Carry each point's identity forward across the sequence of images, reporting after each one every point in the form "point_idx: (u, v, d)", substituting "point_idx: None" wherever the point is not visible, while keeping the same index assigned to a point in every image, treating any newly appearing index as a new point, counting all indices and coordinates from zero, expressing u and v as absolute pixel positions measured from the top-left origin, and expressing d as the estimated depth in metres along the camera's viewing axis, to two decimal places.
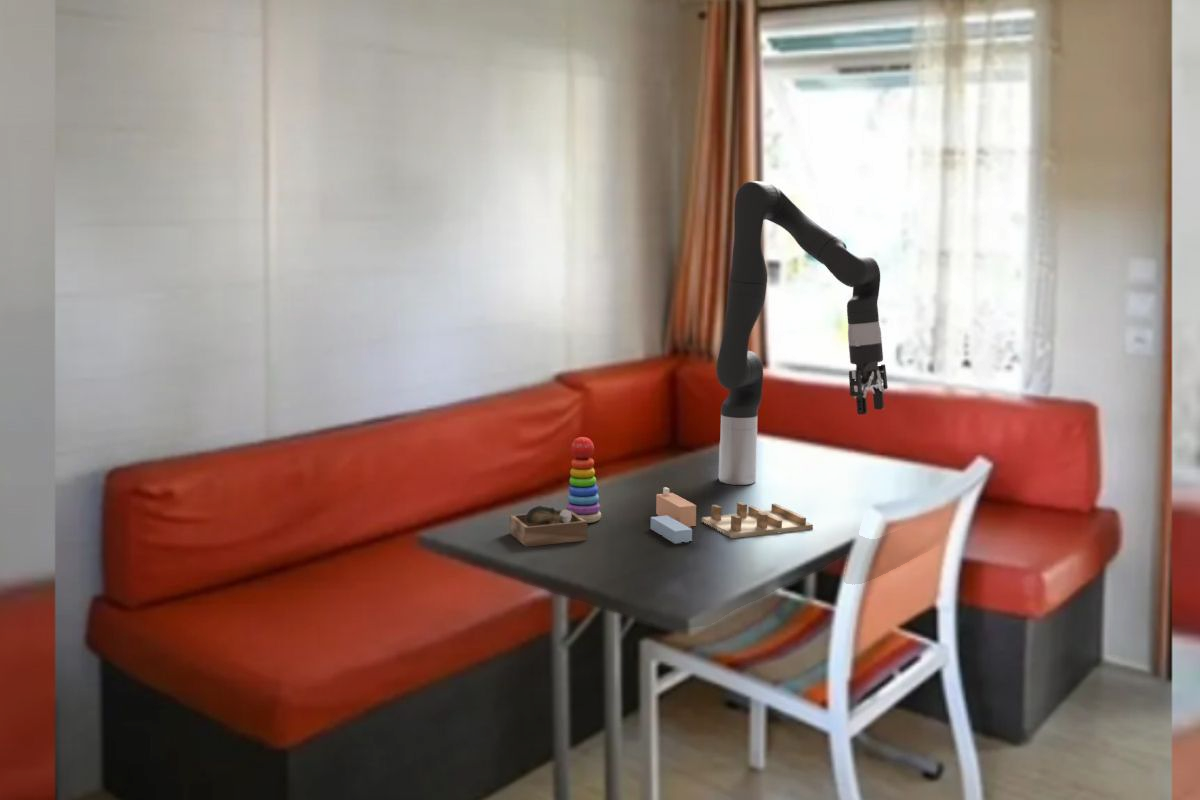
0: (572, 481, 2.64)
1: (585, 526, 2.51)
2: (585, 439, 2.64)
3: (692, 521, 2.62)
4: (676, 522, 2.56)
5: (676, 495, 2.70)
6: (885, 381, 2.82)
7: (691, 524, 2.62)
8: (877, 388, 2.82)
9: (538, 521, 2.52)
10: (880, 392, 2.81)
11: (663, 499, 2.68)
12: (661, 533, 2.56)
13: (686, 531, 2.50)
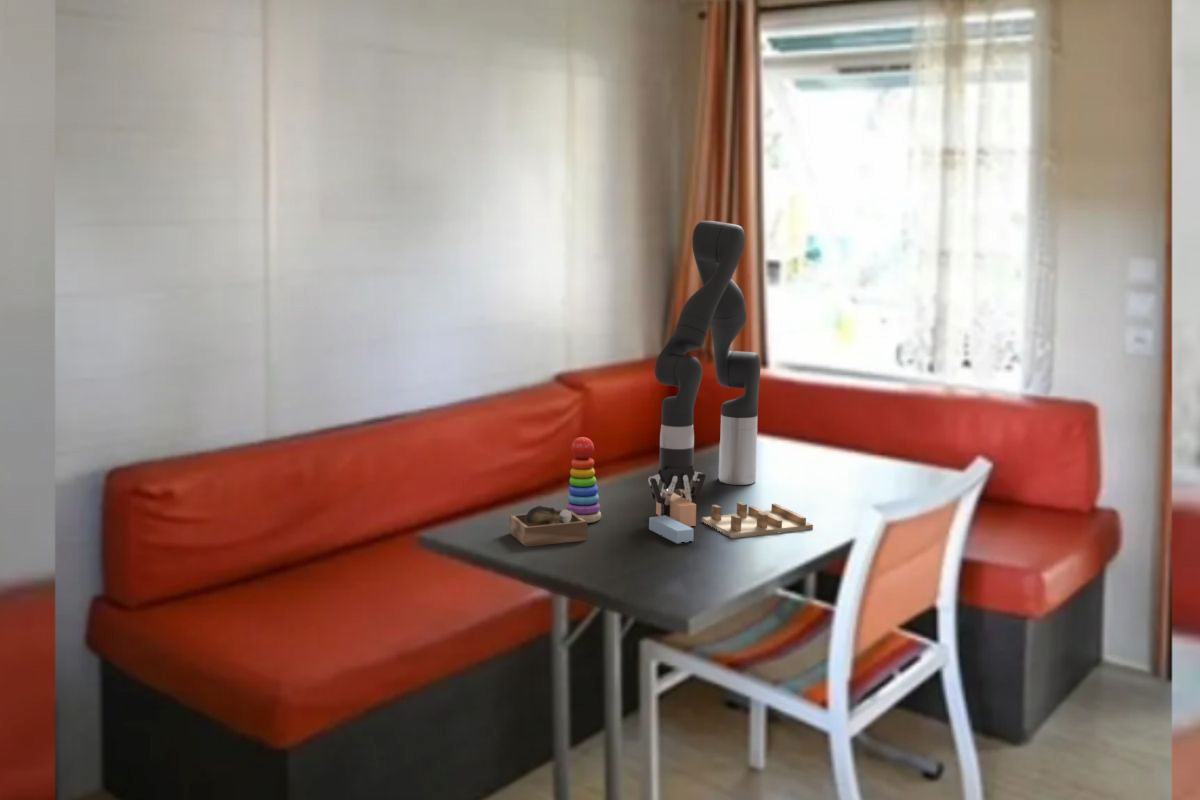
0: (572, 481, 2.64)
1: (585, 526, 2.51)
2: (585, 439, 2.64)
3: (692, 520, 2.62)
4: (676, 522, 2.56)
5: (676, 494, 2.70)
6: (697, 491, 2.67)
7: (691, 523, 2.62)
8: None
9: (538, 521, 2.52)
10: None
11: None
12: (661, 533, 2.55)
13: (687, 531, 2.51)
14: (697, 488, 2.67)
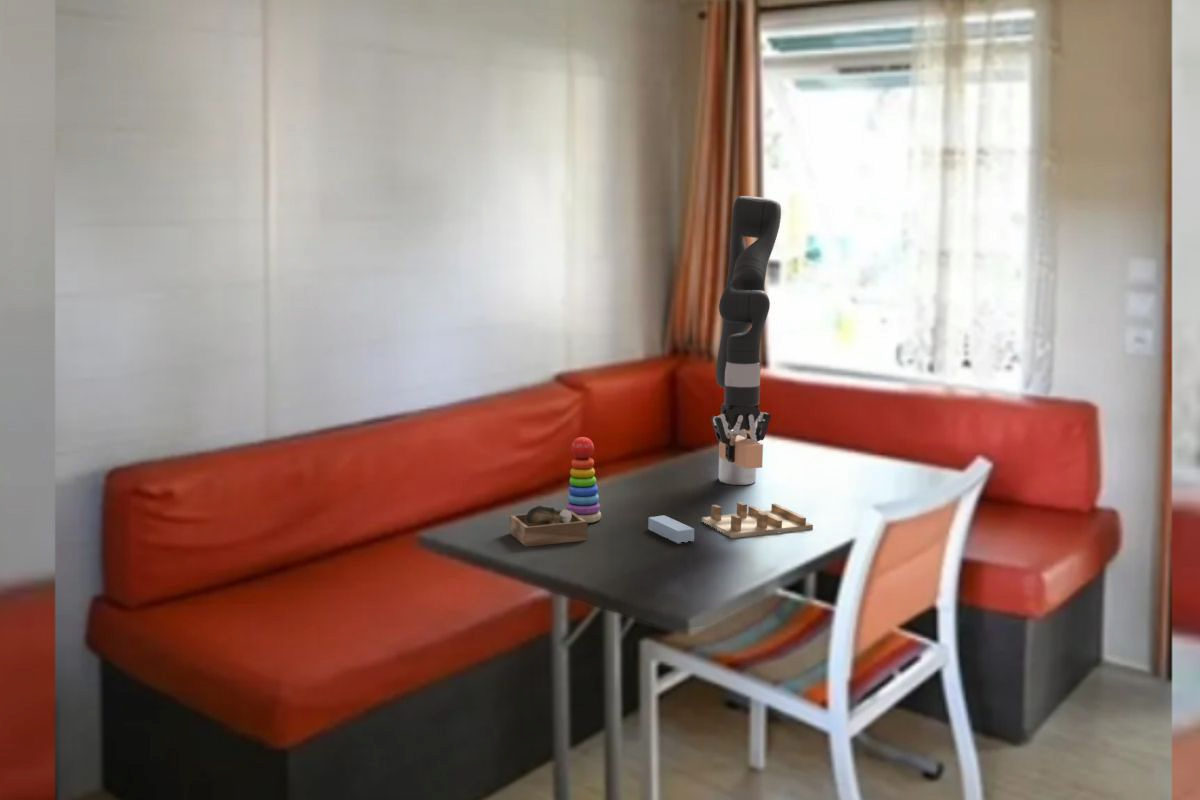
0: (572, 481, 2.64)
1: (585, 526, 2.51)
2: (585, 439, 2.64)
3: (759, 461, 2.54)
4: (676, 522, 2.56)
5: (740, 436, 2.63)
6: (763, 431, 2.59)
7: (757, 464, 2.54)
8: (750, 437, 2.60)
9: (538, 521, 2.52)
10: None
11: None
12: (661, 533, 2.55)
13: (688, 531, 2.51)
14: (762, 429, 2.59)
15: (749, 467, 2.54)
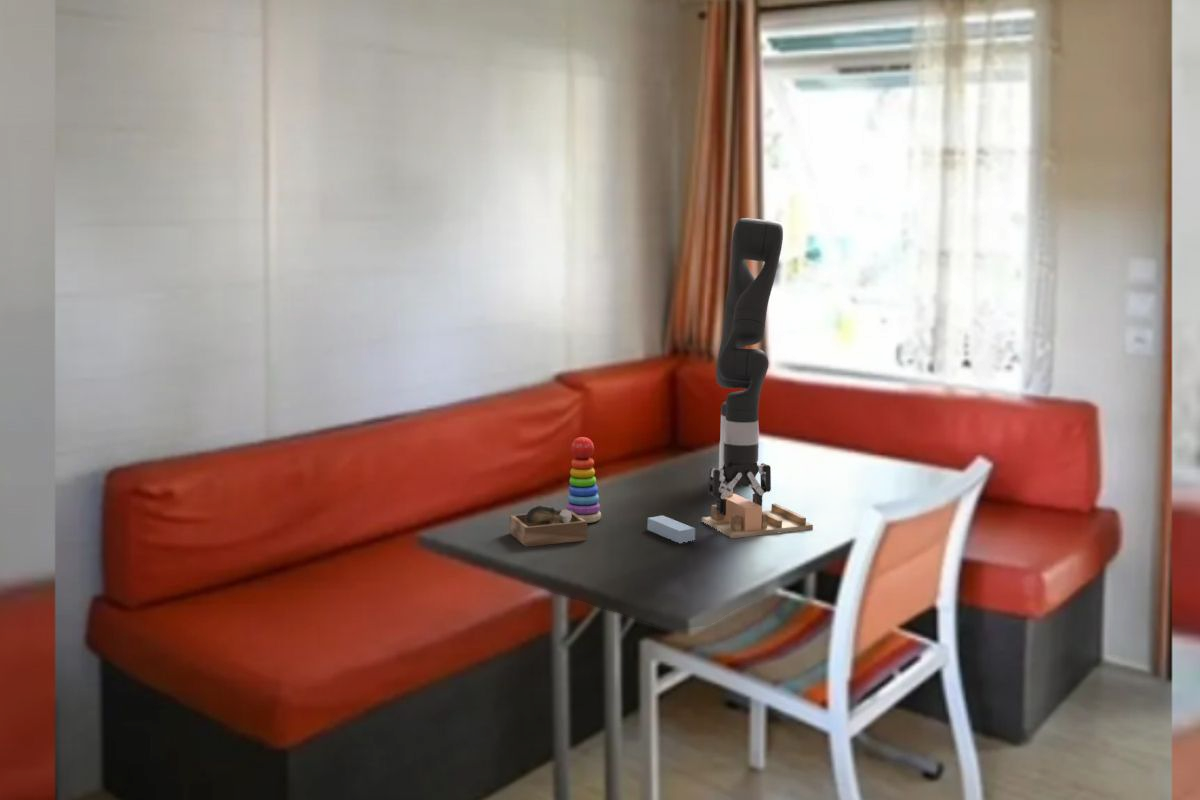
0: (572, 481, 2.64)
1: (585, 526, 2.51)
2: (585, 439, 2.64)
3: (758, 522, 2.57)
4: (676, 522, 2.56)
5: (739, 496, 2.65)
6: (767, 483, 2.62)
7: (757, 526, 2.57)
8: None
9: (538, 521, 2.52)
10: (757, 494, 2.62)
11: (727, 500, 2.63)
12: (661, 533, 2.55)
13: (689, 531, 2.51)
14: (766, 481, 2.62)
15: (748, 529, 2.56)
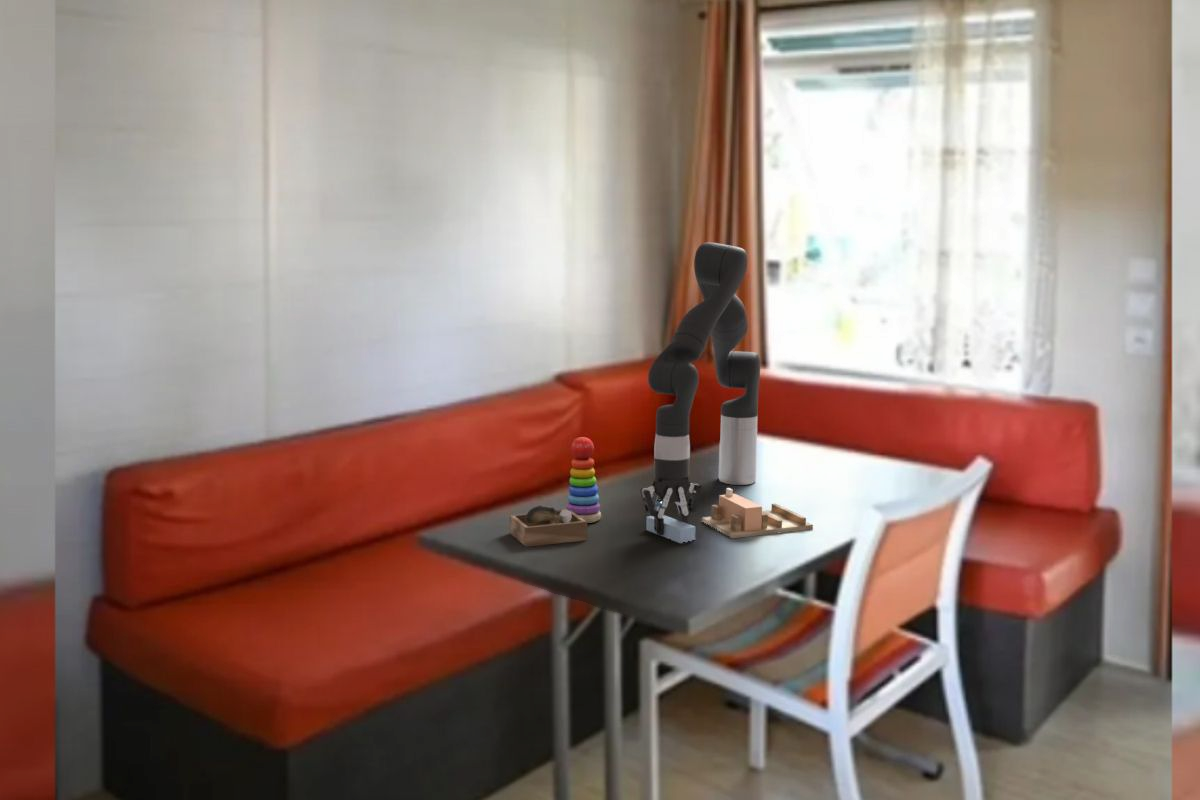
0: (572, 481, 2.64)
1: (585, 526, 2.51)
2: (585, 439, 2.64)
3: (758, 522, 2.57)
4: (675, 520, 2.56)
5: (739, 496, 2.65)
6: (694, 503, 2.56)
7: (757, 526, 2.57)
8: None
9: (538, 521, 2.52)
10: (682, 514, 2.55)
11: (727, 500, 2.63)
12: None
13: (690, 529, 2.51)
14: (694, 500, 2.55)
15: (748, 529, 2.56)
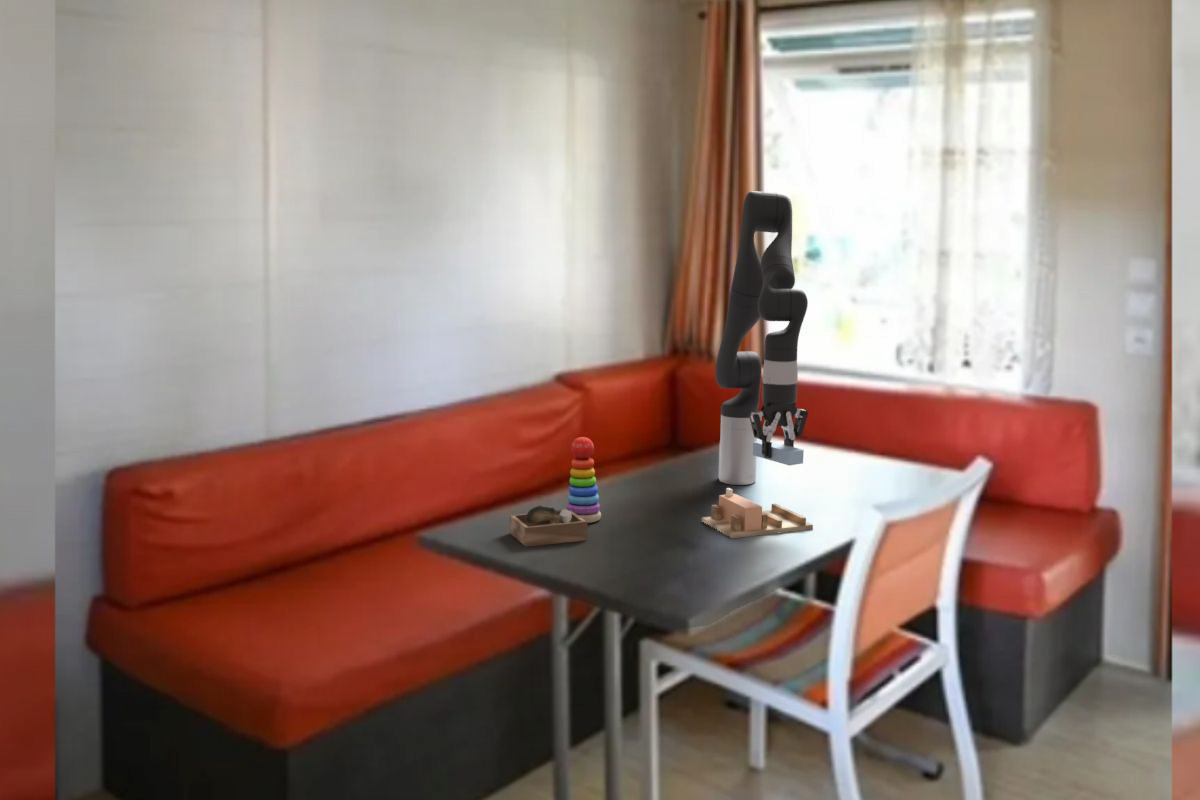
0: (572, 481, 2.64)
1: (585, 526, 2.51)
2: (585, 439, 2.64)
3: (758, 522, 2.57)
4: (782, 445, 2.63)
5: (739, 496, 2.65)
6: (800, 428, 2.63)
7: (757, 526, 2.57)
8: (788, 434, 2.63)
9: (538, 521, 2.52)
10: (789, 439, 2.63)
11: (727, 500, 2.63)
12: None
13: (798, 452, 2.58)
14: (800, 425, 2.63)
15: (748, 529, 2.56)
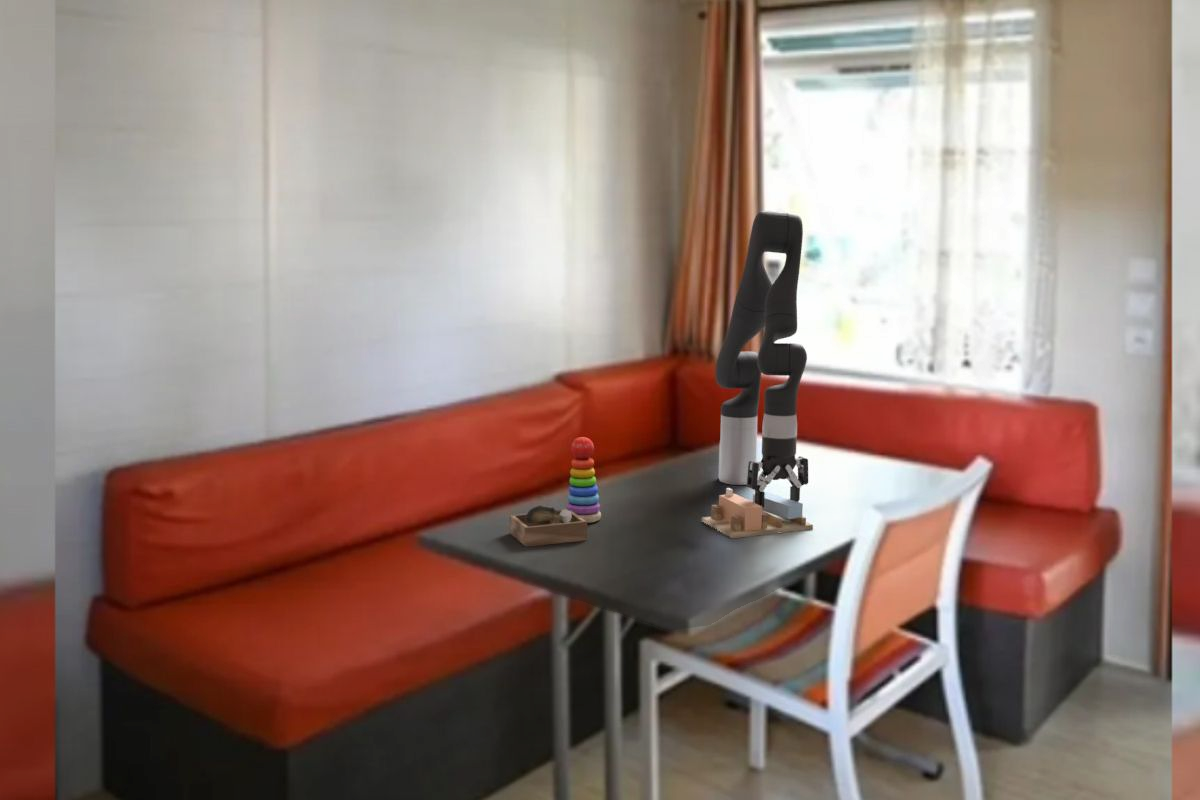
0: (572, 481, 2.64)
1: (585, 526, 2.51)
2: (585, 439, 2.64)
3: (758, 522, 2.57)
4: (782, 498, 2.65)
5: (739, 496, 2.65)
6: (805, 476, 2.65)
7: (757, 526, 2.57)
8: None
9: (538, 521, 2.52)
10: (795, 487, 2.65)
11: (727, 500, 2.63)
12: (768, 509, 2.64)
13: (797, 506, 2.60)
14: (804, 474, 2.65)
15: (748, 529, 2.56)
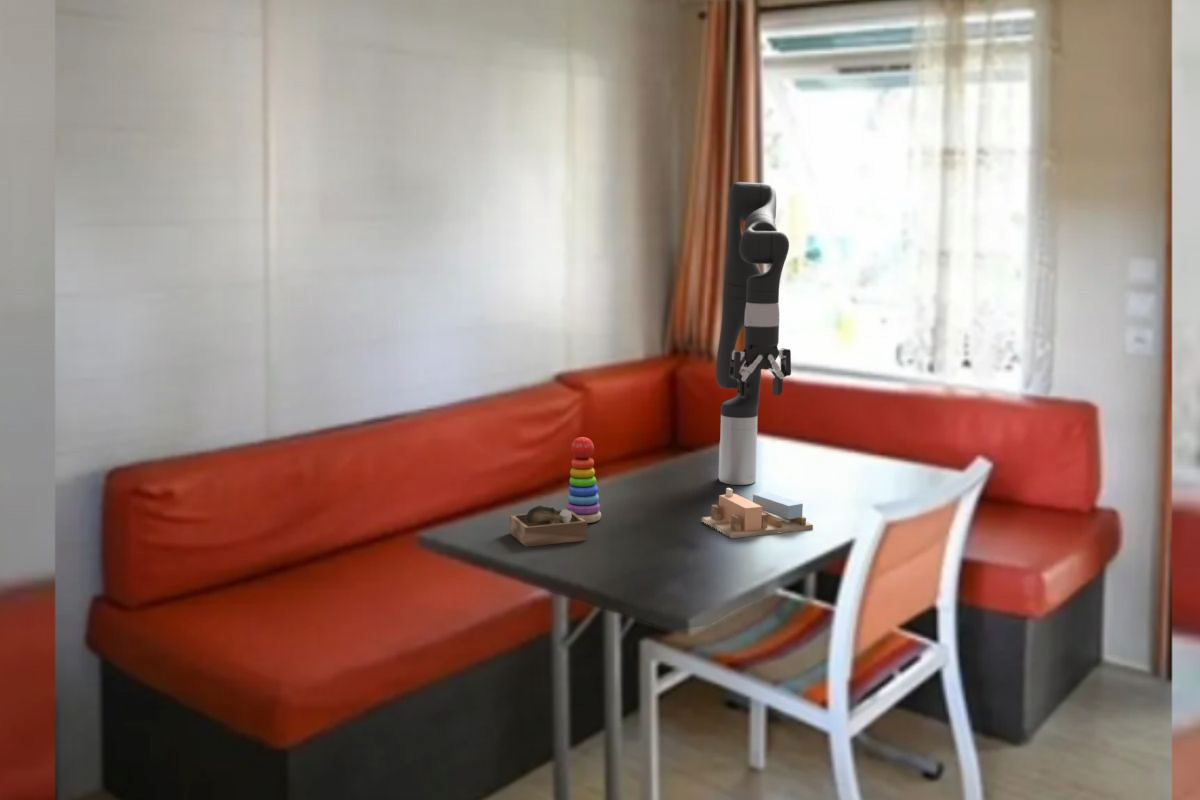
0: (572, 481, 2.64)
1: (585, 526, 2.51)
2: (585, 439, 2.64)
3: (758, 522, 2.57)
4: (782, 498, 2.65)
5: (739, 496, 2.65)
6: (787, 367, 2.64)
7: (757, 526, 2.57)
8: None
9: (538, 521, 2.52)
10: (778, 378, 2.64)
11: (727, 500, 2.63)
12: (768, 509, 2.64)
13: (797, 506, 2.60)
14: (786, 365, 2.64)
15: (748, 529, 2.56)
